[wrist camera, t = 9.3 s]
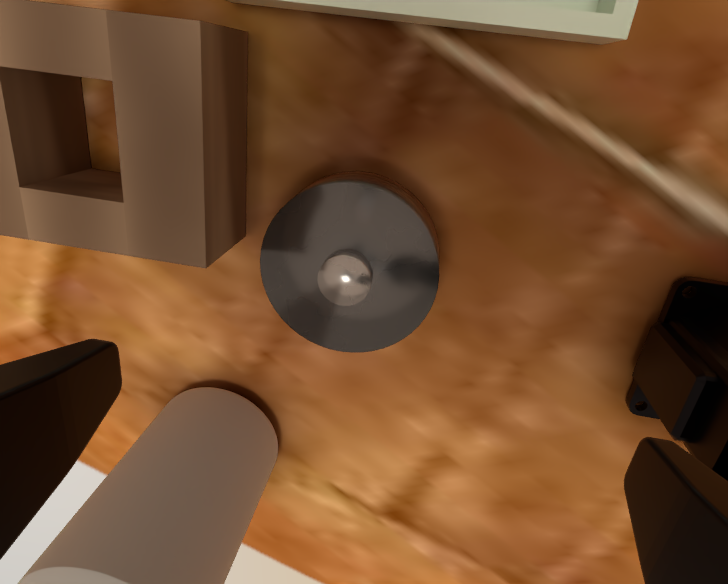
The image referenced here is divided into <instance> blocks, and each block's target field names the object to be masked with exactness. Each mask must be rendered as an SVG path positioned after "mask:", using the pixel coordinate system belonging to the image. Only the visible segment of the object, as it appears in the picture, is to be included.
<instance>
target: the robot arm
mask: <svg viewBox="0 0 728 584" xmlns="http://www.w3.org/2000/svg"><path fill="white" fill-rule="evenodd" d="M689 286H692V290H691V291H690V292H689V293H687V294H683V290H684V289H685V288H687V287H689ZM632 376H633V378H634V381H633V384H632V386H631V388H630V391H629V393H628V396H627V398H626V404H627V406H628V408H629V410H630V411H631V412H632V413H633V414H635V415H639V416H645V417H651V418H656V419H660V420H661V421H662V423H663V424H664V426H665V427H666V429H667V430H668V432H669V434H670V435H671V436H672V438H673V439H674V440H676V441H682V442H683V443H684V445H685V446H686V448H687V449H688V451H689V452H690V454H689V453H688V452H686V451H685V450H684V449H682V448H681V447H680V446H678V445H677V444H675V443H674V442H671V441H668V440H662V439H657V438H651V437H646V438H644V439H642V440H641V441H640V443H639V444H638V447H637V449H636V451H635V453H634V456H633V458H632V460H631V463H630V465H629V467H628V469H627V472H626V474H625V479H624V490H625V495H626V500H627V504H628V509H629V514H630V518H631V523H632V528H633V532H634V537H635V542H636V546H637V551H638V556H639V560H640V565H641V569H642V573H643V577H644V581H645V584H728V283H727V282H721V281H714V280H708V279H701V278H694V277H683V278H680V279H678V280H677V281H676V282H675V283H674V284H673V286H672V288H671V290H670V293H669V295H668V297H667V300H666V302H665V305H664V307H663V310H662V312H661V315H660V317H659V320H658V322H657V323H656V324H654V325H653V326H652V327H651V329H650V331H649V334H648V336H647V339H646V341H645V344H644V346H643V349H642V351H641V354H640V356H639V359H638V361H637V364H636V366H635V369H634V371H633V374H632ZM121 386H122V377H121V368H120V359H119V351H118V347H117V345H116V344H114V343H113V342H109V341H104V340H98V339H88V340H85V341H81V342H78V343H74V344H71V345H68V346H64V347H61V348H57V349H54V350H50V351H47V352H43V353H40V354H36V355H33V356H29V357H26V358H22V359H19V360H16V361H12V362H9V363H5V364H2V365H0V559H1V558H2V557H3V556H4V554H5V553H6V552H7V550H8V549H9V548H10V547H11V545H12V544H13V543H14V542H15V540H16V539H17V538H18V536H19V535H20V534H21V533H22V531H23V530H24V529H25V527H26V526H27V525H28V524H29V522H30V521H31V520H32V518H33V517H34V516H35V515H36V513H37V512H38V511H39V510H40V508H41V507H42V506H43V505H44V503H45V502H46V501H47V499H48V498H49V497H50V495H51V494H52V493H53V492H54V490H55V489H56V488H57V486H58V485H59V484H60V483H61V481H62V480H63V479H64V477H65V476H66V475H67V474H68V472H69V471H70V469H71V468H72V467H73V465H74V464H75V462H76V461H77V459H78V458H79V456H80V455H81V453H82V452H83V450H84V449H85V447H86V445H87V444H88V442H89V441H90V439H91V438H92V436H93V434H94V433H95V431H96V430H97V428H98V427H99V425H100V423H101V422H102V420H103V419H104V417H105V416H106V414H107V412H108V411H109V409H110V408H111V406H112V405H113V403H114V401H115V400H116V398H117V397H118V395H119V393H120V390H121ZM640 401H644V402H643V403H642V404H641V405H636V403H637V402H640Z"/></svg>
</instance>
